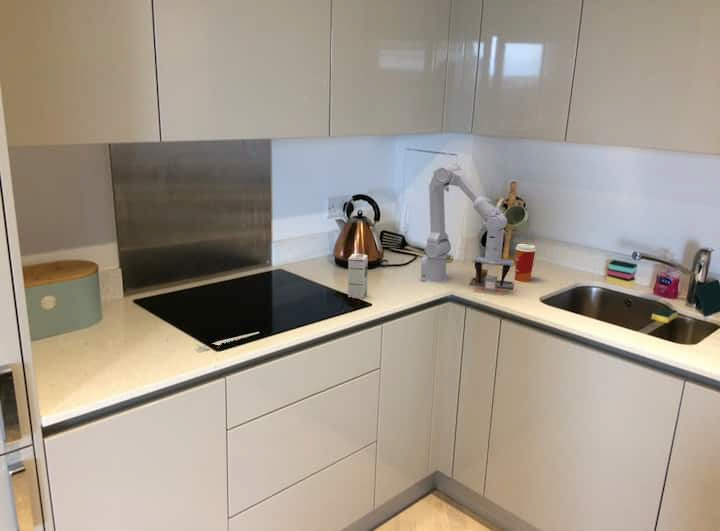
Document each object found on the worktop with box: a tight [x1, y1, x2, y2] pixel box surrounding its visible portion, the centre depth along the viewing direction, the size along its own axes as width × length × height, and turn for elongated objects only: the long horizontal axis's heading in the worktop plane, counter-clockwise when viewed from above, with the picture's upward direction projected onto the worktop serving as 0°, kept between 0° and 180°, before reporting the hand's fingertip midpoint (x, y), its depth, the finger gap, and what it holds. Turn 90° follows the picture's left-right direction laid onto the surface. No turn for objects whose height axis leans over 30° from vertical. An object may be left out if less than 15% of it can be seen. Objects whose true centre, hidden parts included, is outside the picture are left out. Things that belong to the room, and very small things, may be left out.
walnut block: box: [474, 268, 489, 284], centre depth 224 cm, size 4×4×5 cm
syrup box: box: [347, 253, 369, 300], centre depth 206 cm, size 6×6×14 cm
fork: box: [195, 331, 260, 351], centre depth 167 cm, size 3×20×2 cm, turn 134°
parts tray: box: [469, 276, 514, 291], centre depth 223 cm, size 16×8×1 cm, turn 74°
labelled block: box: [484, 274, 498, 292], centre depth 215 cm, size 4×4×5 cm
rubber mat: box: [473, 286, 507, 297], centre depth 216 cm, size 11×7×1 cm, turn 74°
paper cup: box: [514, 243, 537, 283], centre depth 228 cm, size 8×8×14 cm
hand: (490, 283), depth 215 cm, fingers open, 7 cm apart
